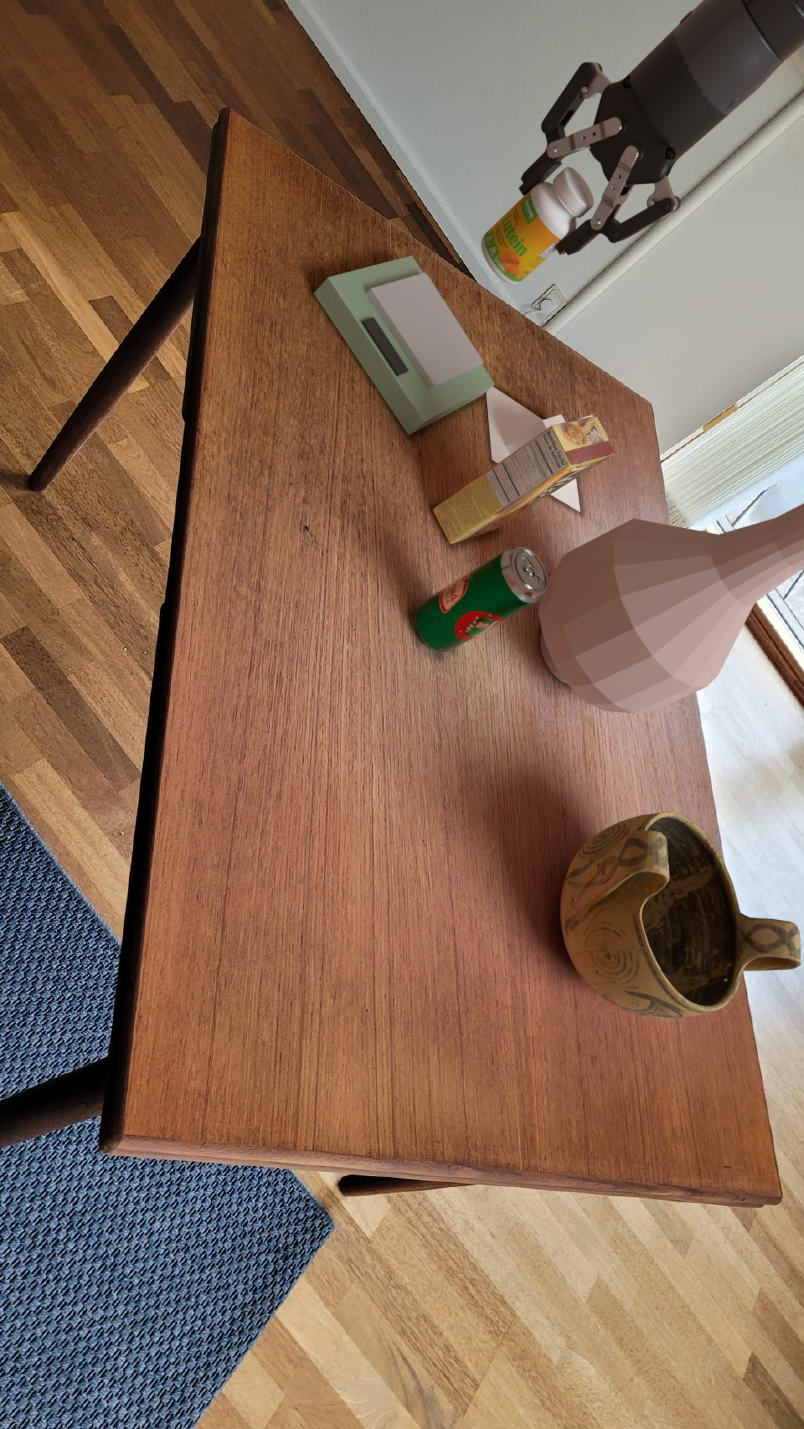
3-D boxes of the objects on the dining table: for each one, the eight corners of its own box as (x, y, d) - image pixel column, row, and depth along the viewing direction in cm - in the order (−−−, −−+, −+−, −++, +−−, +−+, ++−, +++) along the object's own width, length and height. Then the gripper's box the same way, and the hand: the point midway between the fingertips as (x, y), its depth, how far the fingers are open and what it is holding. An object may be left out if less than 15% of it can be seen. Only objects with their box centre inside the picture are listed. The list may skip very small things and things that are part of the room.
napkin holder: (570, 436, 111) (607, 410, 107) (581, 512, 107) (620, 488, 103) (484, 380, 102) (521, 350, 98) (492, 461, 98) (531, 432, 94)
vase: (584, 582, 102) (847, 439, 81) (633, 731, 98) (921, 619, 78) (482, 571, 90) (760, 398, 69) (533, 739, 86) (843, 610, 65)
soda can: (424, 593, 83) (521, 531, 74) (459, 633, 84) (558, 577, 76) (402, 623, 79) (501, 562, 71) (439, 665, 81) (540, 610, 72)
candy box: (478, 494, 94) (596, 412, 83) (497, 530, 94) (617, 452, 83) (429, 509, 87) (550, 422, 77) (450, 548, 88) (573, 466, 77)
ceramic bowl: (492, 981, 72) (650, 953, 62) (512, 795, 81) (652, 743, 71) (662, 1060, 83) (821, 1047, 72) (662, 887, 92) (803, 854, 82)
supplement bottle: (470, 237, 83) (550, 157, 77) (497, 234, 87) (576, 159, 81) (500, 288, 84) (583, 214, 77) (526, 284, 88) (607, 213, 81)
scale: (312, 293, 87) (332, 271, 85) (397, 269, 98) (416, 249, 96) (408, 435, 89) (429, 417, 87) (479, 396, 101) (500, 379, 98)
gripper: (764, 149, 74) (599, 284, 86) (672, -14, 72) (515, 147, 84) (742, 153, 69) (569, 297, 80) (642, -23, 67) (479, 151, 78)
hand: (542, 220), depth 82 cm, fingers closed on supplement bottle, 5 cm apart
